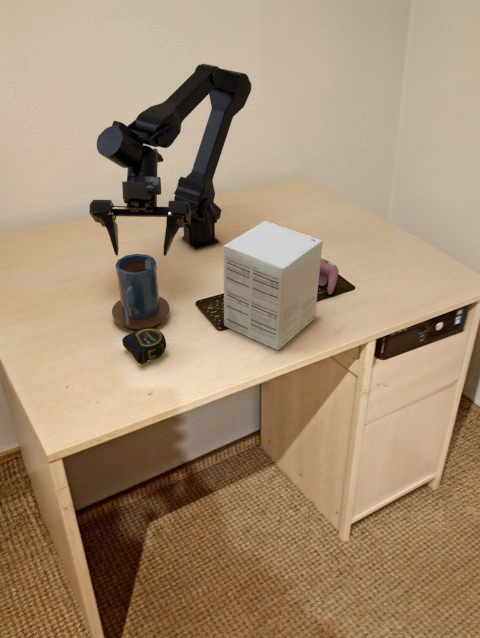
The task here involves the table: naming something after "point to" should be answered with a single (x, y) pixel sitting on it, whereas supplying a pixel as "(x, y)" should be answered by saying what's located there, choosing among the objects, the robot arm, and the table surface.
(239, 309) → the supplement box
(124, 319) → the mug
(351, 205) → the table surface
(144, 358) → the tape measure
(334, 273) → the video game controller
